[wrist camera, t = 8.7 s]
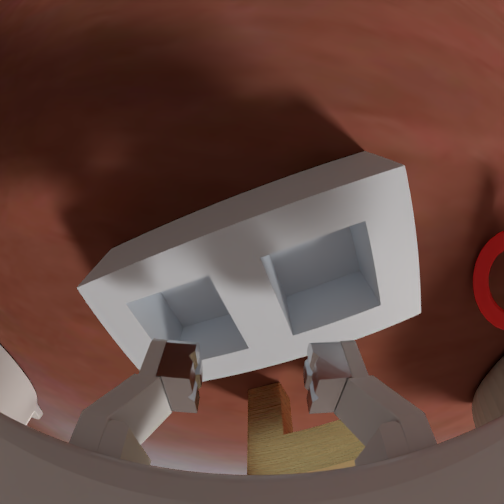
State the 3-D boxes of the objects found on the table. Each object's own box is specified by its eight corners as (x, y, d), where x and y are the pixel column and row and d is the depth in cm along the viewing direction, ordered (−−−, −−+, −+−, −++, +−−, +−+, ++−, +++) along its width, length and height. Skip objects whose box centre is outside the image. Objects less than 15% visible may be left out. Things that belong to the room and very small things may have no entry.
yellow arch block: (364, 374, 19) (391, 458, 12) (260, 405, 21) (262, 490, 14) (359, 355, 18) (391, 446, 11) (248, 389, 20) (247, 481, 13)
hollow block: (390, 271, 15) (420, 313, 12) (171, 341, 17) (156, 389, 14) (364, 151, 12) (404, 165, 9) (111, 248, 15) (76, 287, 11)
